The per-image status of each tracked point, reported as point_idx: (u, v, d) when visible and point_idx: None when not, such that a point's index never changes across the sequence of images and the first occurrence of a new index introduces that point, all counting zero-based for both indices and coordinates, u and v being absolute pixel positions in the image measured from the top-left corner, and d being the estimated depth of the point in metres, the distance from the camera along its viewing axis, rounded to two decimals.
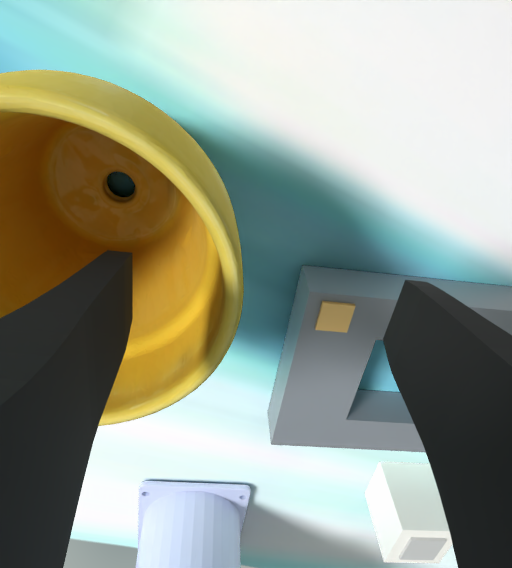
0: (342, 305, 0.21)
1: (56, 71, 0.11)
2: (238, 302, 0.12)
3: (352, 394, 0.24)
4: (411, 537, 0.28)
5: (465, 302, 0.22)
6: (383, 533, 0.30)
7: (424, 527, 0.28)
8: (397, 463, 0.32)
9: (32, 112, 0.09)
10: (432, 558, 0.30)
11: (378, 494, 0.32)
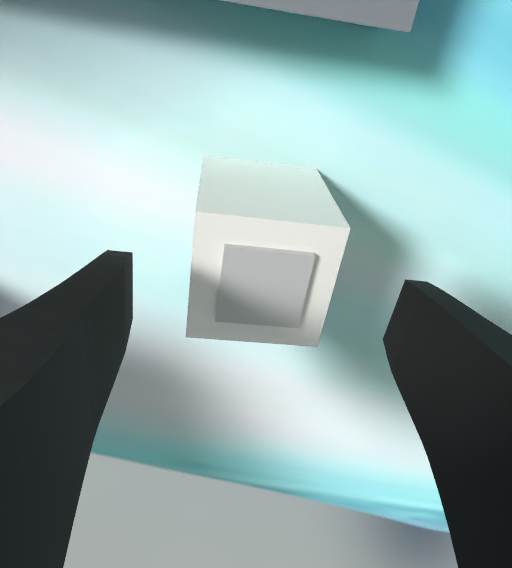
0: None
1: None
2: None
3: None
4: (226, 246, 0.12)
5: None
6: None
7: (257, 214, 0.11)
8: (241, 160, 0.15)
9: None
10: (294, 322, 0.13)
11: None
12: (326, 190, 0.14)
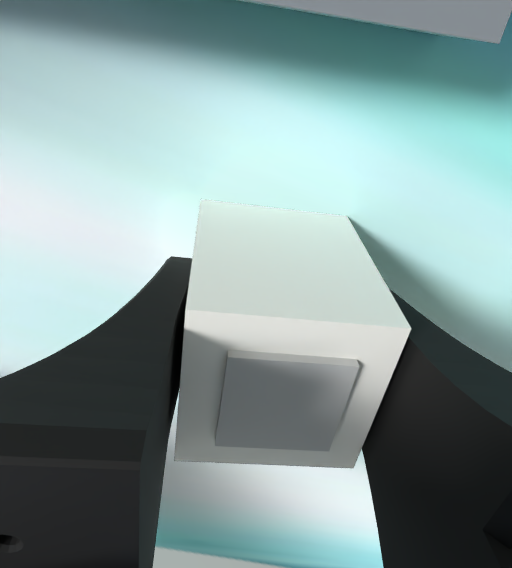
0: None
1: None
2: None
3: None
4: (231, 352, 0.08)
5: None
6: None
7: (275, 310, 0.08)
8: (250, 206, 0.12)
9: None
10: (324, 444, 0.09)
11: None
12: (365, 254, 0.10)
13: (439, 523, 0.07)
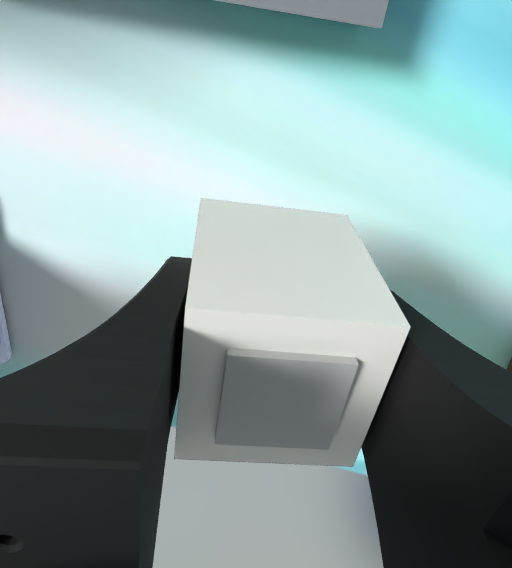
0: None
1: None
2: None
3: None
4: (230, 351, 0.08)
5: None
6: None
7: (275, 309, 0.08)
8: (250, 205, 0.12)
9: None
10: (324, 442, 0.09)
11: None
12: (365, 253, 0.10)
13: (439, 523, 0.07)
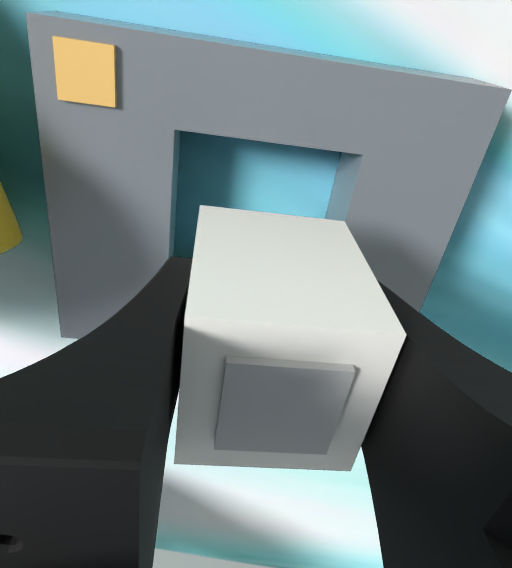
0: (90, 42, 0.12)
1: None
2: (14, 246, 0.13)
3: (164, 244, 0.15)
4: (229, 358, 0.08)
5: (318, 58, 0.13)
6: None
7: (273, 317, 0.08)
8: (249, 212, 0.12)
9: None
10: (322, 448, 0.09)
11: None
12: (362, 260, 0.10)
13: (439, 523, 0.07)
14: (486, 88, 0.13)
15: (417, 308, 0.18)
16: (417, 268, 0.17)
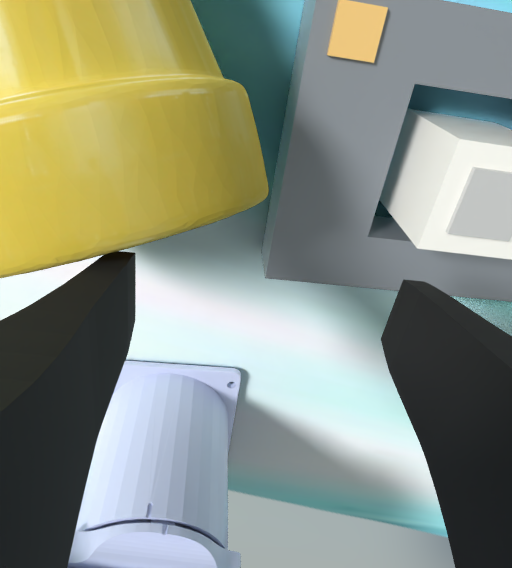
0: (369, 4, 0.14)
1: (20, 128, 0.08)
2: None
3: (378, 189, 0.18)
4: (473, 169, 0.15)
5: None
6: (415, 204, 0.17)
7: (500, 144, 0.15)
8: (437, 113, 0.18)
9: None
10: (507, 235, 0.16)
11: (403, 161, 0.18)
12: None
13: None
14: None
15: None
16: None
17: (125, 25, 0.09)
